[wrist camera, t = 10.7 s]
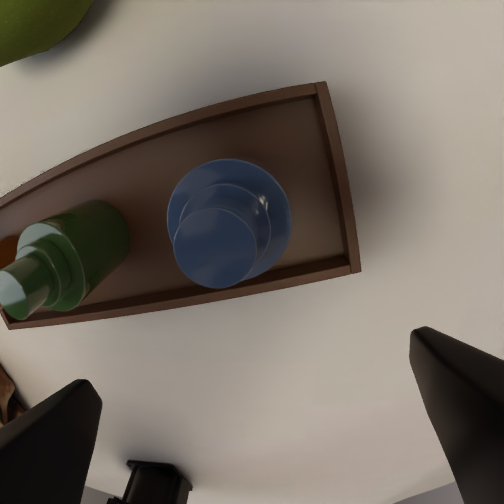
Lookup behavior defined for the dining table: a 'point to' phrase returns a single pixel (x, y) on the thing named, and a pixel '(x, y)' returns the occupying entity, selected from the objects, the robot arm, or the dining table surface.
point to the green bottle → (64, 258)
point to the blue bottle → (229, 220)
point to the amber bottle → (7, 252)
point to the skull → (8, 401)
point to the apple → (36, 25)
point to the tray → (169, 175)
